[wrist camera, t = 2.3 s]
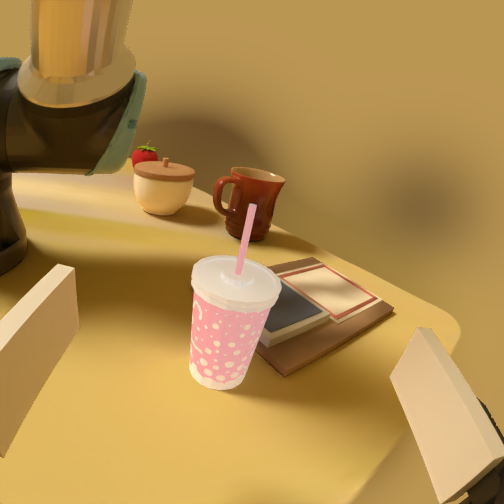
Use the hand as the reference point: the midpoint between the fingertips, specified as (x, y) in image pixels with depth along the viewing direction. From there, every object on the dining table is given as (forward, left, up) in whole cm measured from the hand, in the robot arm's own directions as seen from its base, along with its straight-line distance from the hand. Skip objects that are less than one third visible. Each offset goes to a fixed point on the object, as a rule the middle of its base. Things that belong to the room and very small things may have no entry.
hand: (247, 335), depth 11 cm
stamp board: (-12, +21, -12) cm, 27 cm away
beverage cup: (-8, +6, -12) cm, 16 cm away
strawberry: (-63, +22, -12) cm, 68 cm away
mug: (-31, +26, -12) cm, 43 cm away
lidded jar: (-44, +18, -12) cm, 49 cm away
